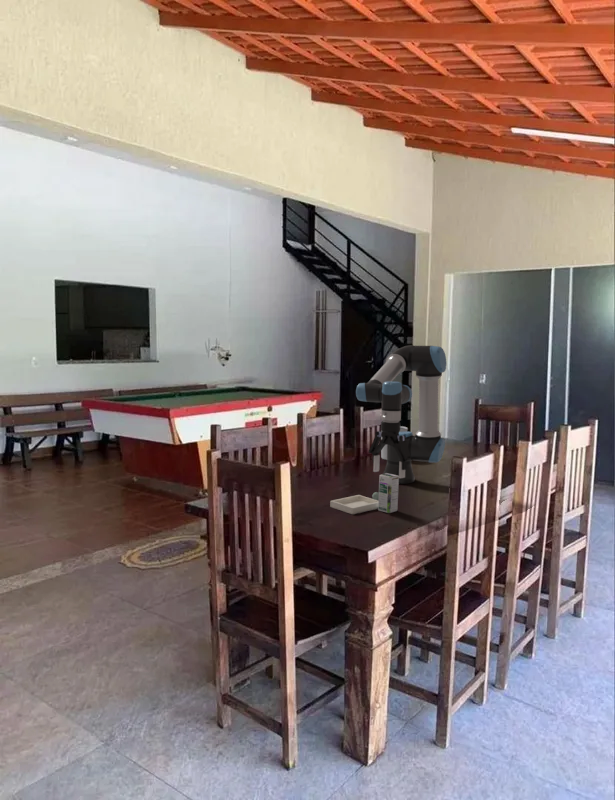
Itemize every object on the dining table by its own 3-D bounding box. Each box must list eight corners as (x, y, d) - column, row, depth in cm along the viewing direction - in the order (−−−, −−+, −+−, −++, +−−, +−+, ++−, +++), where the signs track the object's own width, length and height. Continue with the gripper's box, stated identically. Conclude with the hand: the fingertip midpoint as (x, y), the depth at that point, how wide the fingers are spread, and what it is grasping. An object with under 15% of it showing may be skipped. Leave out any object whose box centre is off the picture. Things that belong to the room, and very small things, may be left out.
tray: (358, 500, 262) (358, 494, 262) (381, 507, 252) (381, 501, 252) (330, 506, 252) (330, 500, 251) (352, 514, 242) (352, 508, 242)
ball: (376, 499, 265) (376, 490, 265) (382, 500, 262) (382, 492, 262) (370, 500, 263) (370, 492, 262) (376, 502, 260) (376, 493, 259)
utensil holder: (375, 456, 356) (376, 425, 354) (399, 455, 360) (400, 425, 358) (386, 461, 342) (387, 429, 340) (411, 460, 346) (412, 429, 344)
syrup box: (377, 510, 248) (378, 474, 246) (386, 507, 252) (387, 472, 250) (388, 513, 244) (390, 477, 242) (398, 510, 248) (399, 475, 246)
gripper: (361, 418, 251) (359, 470, 253) (408, 425, 232) (406, 481, 234) (374, 416, 256) (372, 467, 258) (422, 424, 237) (419, 479, 239)
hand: (388, 474), depth 246 cm, fingers open, 13 cm apart
